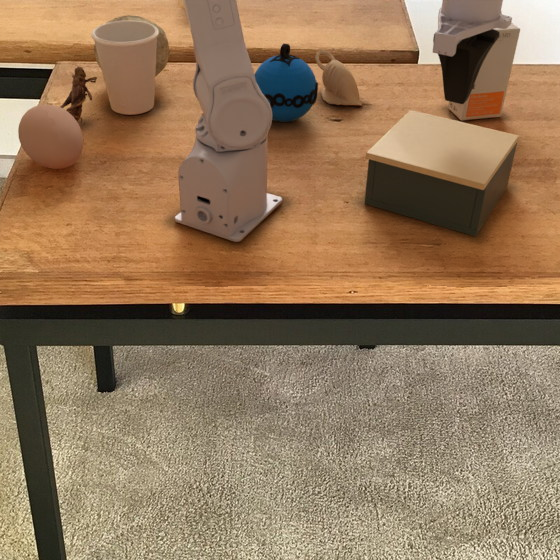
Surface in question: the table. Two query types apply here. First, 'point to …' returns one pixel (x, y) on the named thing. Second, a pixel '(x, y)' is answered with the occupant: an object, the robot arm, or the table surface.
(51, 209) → the table surface
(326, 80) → the decorative ornament
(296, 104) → the ornament
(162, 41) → the sculpture
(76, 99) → the insect
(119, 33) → the dixie cup
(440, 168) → the lid
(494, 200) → the chest
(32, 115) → the egg
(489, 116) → the cosmetic box
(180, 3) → the cup
